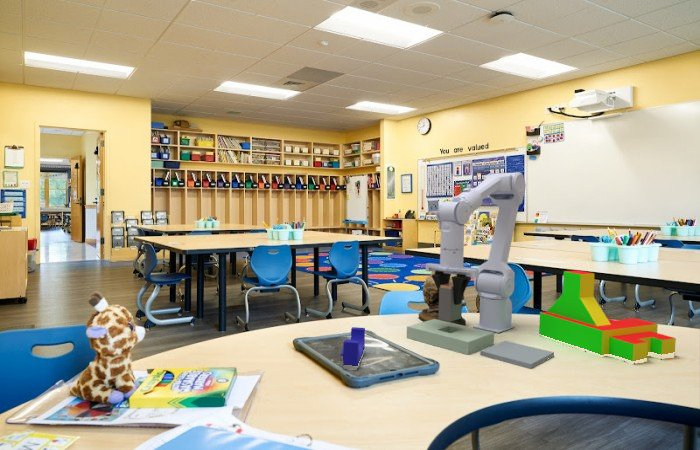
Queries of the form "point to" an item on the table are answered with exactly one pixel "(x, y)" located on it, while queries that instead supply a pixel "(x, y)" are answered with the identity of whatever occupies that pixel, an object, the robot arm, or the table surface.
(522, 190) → the robot arm
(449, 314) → the plug
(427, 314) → the owl figurine
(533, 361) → the mat
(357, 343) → the blue stepped block
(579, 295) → the building blocks toy
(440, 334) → the socket block
